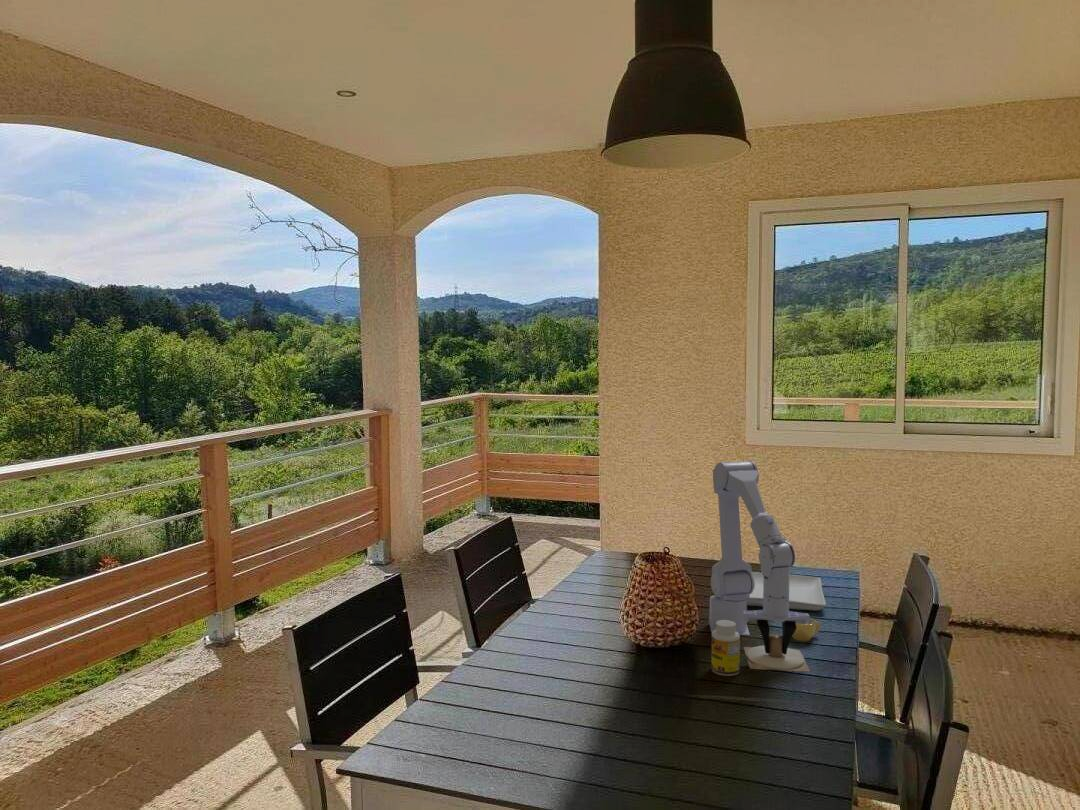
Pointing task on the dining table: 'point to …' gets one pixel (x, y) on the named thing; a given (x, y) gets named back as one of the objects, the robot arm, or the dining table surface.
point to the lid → (775, 655)
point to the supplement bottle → (725, 648)
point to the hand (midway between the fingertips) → (775, 652)
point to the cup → (806, 630)
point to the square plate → (793, 592)
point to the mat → (754, 666)
